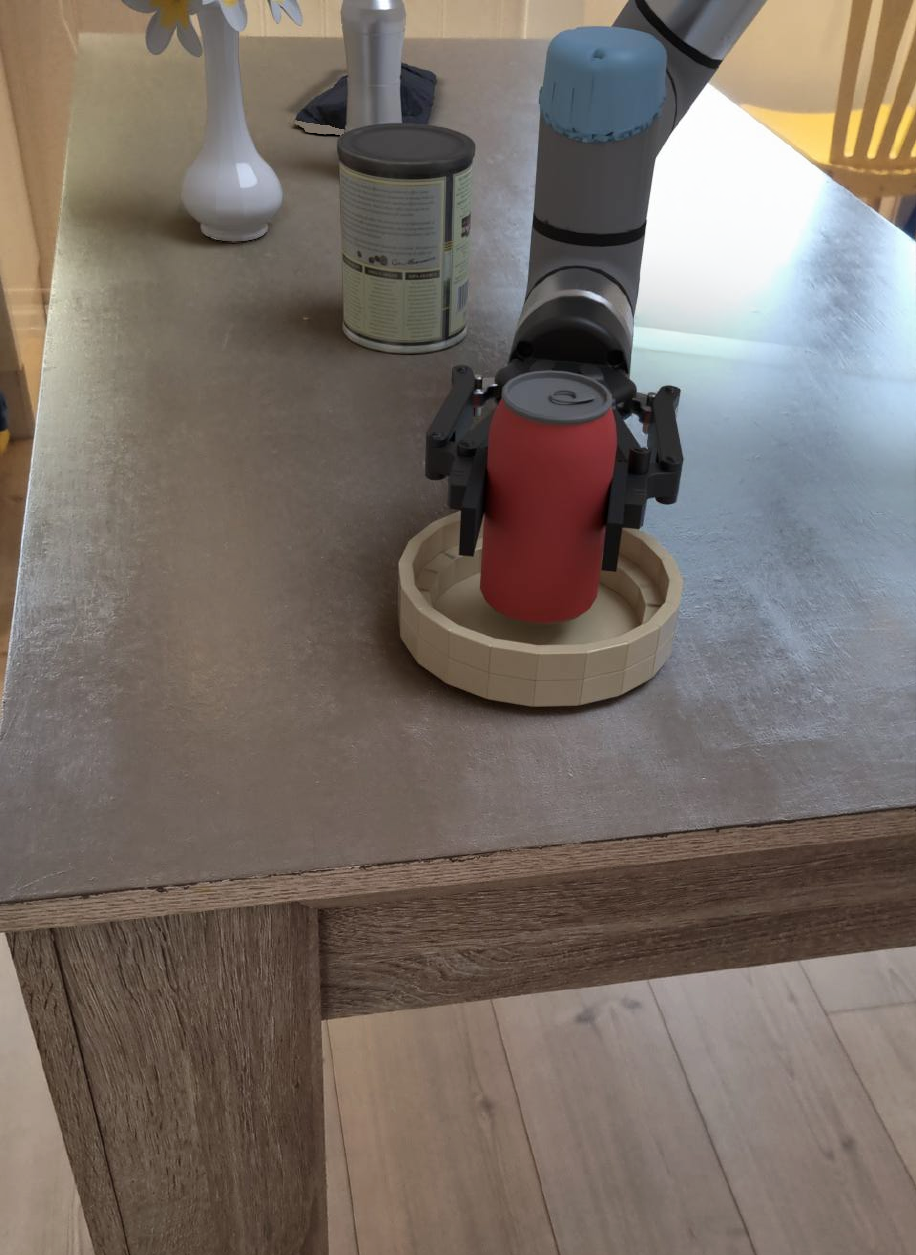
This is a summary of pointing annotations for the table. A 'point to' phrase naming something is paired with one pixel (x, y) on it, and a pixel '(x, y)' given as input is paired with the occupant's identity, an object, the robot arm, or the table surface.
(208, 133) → the flower vase
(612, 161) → the robot arm
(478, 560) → the bowl
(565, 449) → the beer can
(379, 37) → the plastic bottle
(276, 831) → the table surface
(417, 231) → the coffee can
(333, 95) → the dark blue folded cloth
